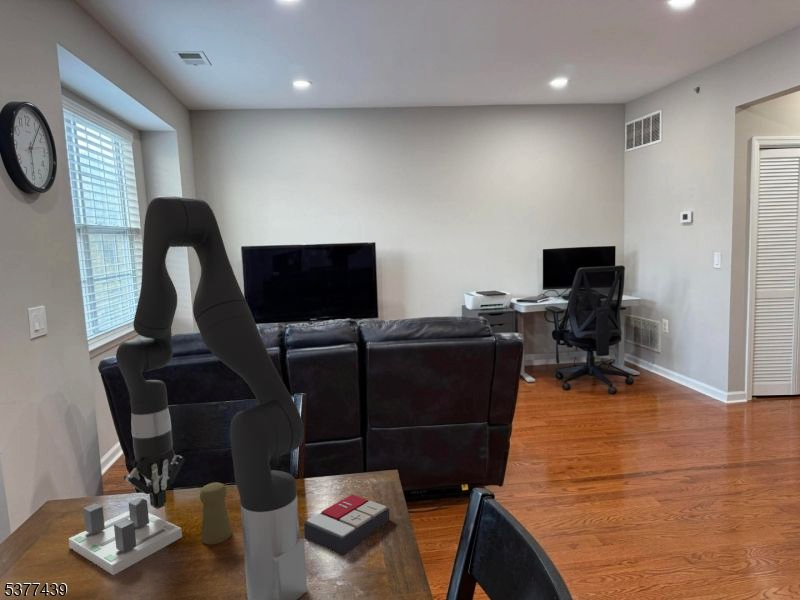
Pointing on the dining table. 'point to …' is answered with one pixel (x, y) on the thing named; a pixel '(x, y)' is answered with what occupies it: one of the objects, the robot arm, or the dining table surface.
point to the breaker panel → (113, 560)
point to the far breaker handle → (94, 518)
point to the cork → (214, 514)
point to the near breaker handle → (125, 535)
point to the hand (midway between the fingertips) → (159, 506)
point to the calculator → (345, 523)
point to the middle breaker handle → (139, 512)
